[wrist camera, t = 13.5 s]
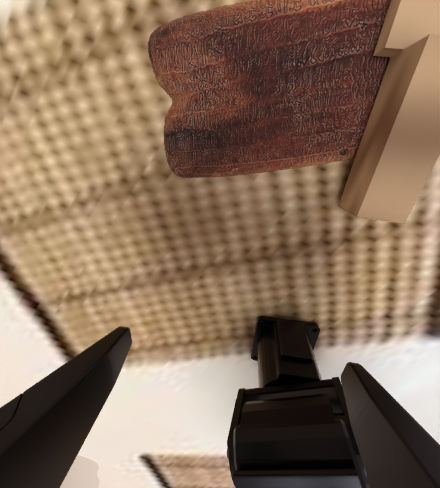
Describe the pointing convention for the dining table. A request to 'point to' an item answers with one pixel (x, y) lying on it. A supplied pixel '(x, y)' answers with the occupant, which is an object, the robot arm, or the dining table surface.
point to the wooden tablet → (268, 84)
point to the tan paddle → (400, 117)
